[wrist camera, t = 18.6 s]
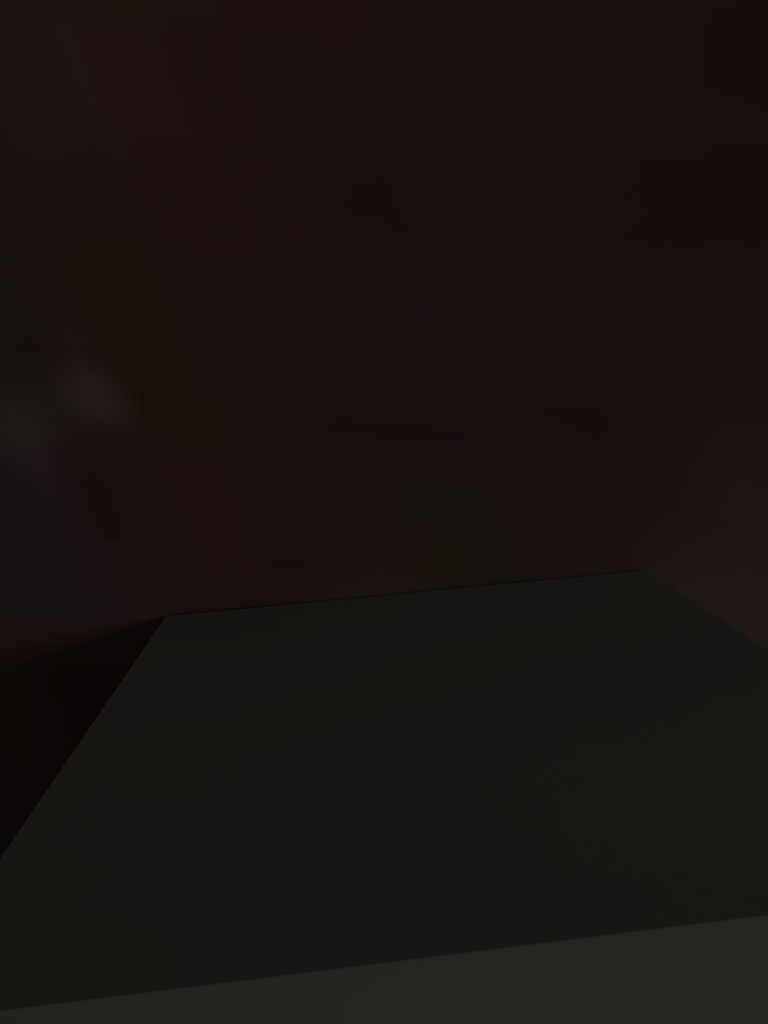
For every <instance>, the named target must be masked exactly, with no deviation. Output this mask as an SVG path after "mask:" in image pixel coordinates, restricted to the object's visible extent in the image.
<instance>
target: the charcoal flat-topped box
mask: <svg viewBox="0 0 768 1024" xmlns="http://www.w3.org/2000/svg"><path fill="white" fill-rule="evenodd" d="M0 1024H768V649H766V648H764V647H763V646H761V645H760V644H758V643H757V642H755V641H754V640H752V639H751V638H749V637H748V636H746V635H745V634H743V633H741V632H740V631H738V630H737V629H735V628H734V627H732V626H731V625H729V624H728V623H726V622H725V621H723V620H721V619H720V618H718V617H717V616H715V615H714V614H712V613H711V612H709V611H708V610H706V609H705V608H703V607H701V606H700V605H698V604H697V603H695V602H694V601H692V600H691V599H689V598H688V597H686V596H685V595H683V594H682V593H680V592H678V591H677V590H675V589H674V588H672V587H671V586H669V585H668V584H666V583H665V582H663V581H662V580H660V579H658V578H657V577H655V576H654V575H652V574H651V573H649V572H648V571H635V572H625V573H614V574H604V575H593V576H583V577H572V578H562V579H551V580H541V581H530V582H520V583H509V584H499V585H488V586H478V587H467V588H457V589H446V590H436V591H425V592H415V593H404V594H394V595H383V596H373V597H362V598H352V599H341V600H331V601H320V602H310V603H299V604H289V605H278V606H268V607H257V608H247V609H236V610H226V611H215V612H205V613H194V614H184V615H173V616H166V617H165V619H164V620H163V621H162V623H161V624H160V626H159V627H158V629H157V630H156V632H155V633H154V635H153V636H152V638H151V639H150V640H149V642H148V643H147V645H146V646H145V648H144V649H143V651H142V652H141V654H140V655H139V657H138V658H137V659H136V661H135V662H134V664H133V665H132V667H131V668H130V670H129V671H128V673H127V674H126V676H125V677H124V678H123V680H122V681H121V683H120V684H119V686H118V687H117V689H116V690H115V692H114V693H113V694H112V696H111V697H110V699H109V700H108V702H107V703H106V705H105V706H104V708H103V709H102V711H101V712H100V713H99V715H98V716H97V718H96V719H95V721H94V722H93V724H92V725H91V727H90V728H89V730H88V731H87V732H86V734H85V735H84V737H83V738H82V740H81V741H80V743H79V744H78V746H77V747H76V749H75V750H74V751H73V753H72V754H71V756H70V757H69V759H68V760H67V762H66V763H65V765H64V766H63V767H62V769H61V770H60V772H59V773H58V775H57V776H56V778H55V779H54V781H53V782H52V784H51V785H50V786H49V788H48V789H47V791H46V792H45V794H44V795H43V797H42V798H41V800H40V801H39V803H38V804H37V805H36V807H35V808H34V810H33V811H32V813H31V814H30V816H29V817H28V819H27V820H26V821H25V823H24V824H23V826H22V827H21V829H20V830H19V832H18V833H17V835H16V836H15V838H14V839H13V840H12V842H11V843H10V845H9V846H8V848H7V849H6V851H5V852H4V854H3V855H2V857H1V858H0Z"/></svg>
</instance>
